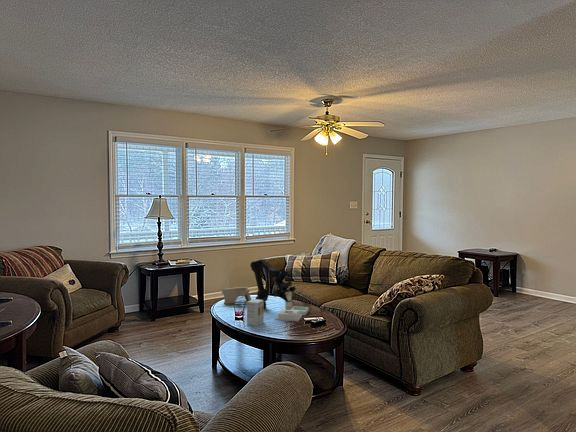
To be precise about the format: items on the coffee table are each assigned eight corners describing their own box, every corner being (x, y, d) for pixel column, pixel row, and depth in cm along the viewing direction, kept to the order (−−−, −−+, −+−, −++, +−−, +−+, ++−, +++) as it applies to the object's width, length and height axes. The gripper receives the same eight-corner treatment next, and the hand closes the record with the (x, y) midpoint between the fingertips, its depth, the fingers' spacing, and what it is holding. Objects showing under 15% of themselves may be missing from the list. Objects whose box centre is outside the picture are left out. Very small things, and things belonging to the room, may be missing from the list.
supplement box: (257, 326, 280) (257, 303, 279) (246, 324, 284) (246, 301, 283) (264, 322, 289) (263, 299, 288) (252, 321, 292) (252, 298, 291)
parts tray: (290, 314, 308) (290, 310, 308) (294, 309, 320) (293, 306, 320) (305, 315, 305) (305, 311, 305) (308, 310, 317) (308, 307, 317)
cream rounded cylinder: (284, 309, 297) (284, 292, 297) (286, 307, 302) (286, 291, 301) (290, 310, 296) (290, 293, 295) (292, 308, 301) (292, 291, 300)
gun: (252, 303, 339) (250, 286, 339) (251, 304, 336) (249, 287, 335) (224, 305, 342) (222, 288, 341) (223, 306, 338) (221, 289, 338)
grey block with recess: (274, 319, 295) (274, 313, 295) (279, 314, 308) (279, 308, 308) (298, 321, 290) (298, 315, 290) (302, 315, 304) (302, 310, 304)
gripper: (275, 279, 295) (285, 296, 287) (294, 276, 307) (304, 292, 299) (269, 288, 301) (278, 305, 293) (287, 284, 313) (297, 300, 306)
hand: (289, 300), depth 298 cm, fingers closed on cream rounded cylinder, 4 cm apart
